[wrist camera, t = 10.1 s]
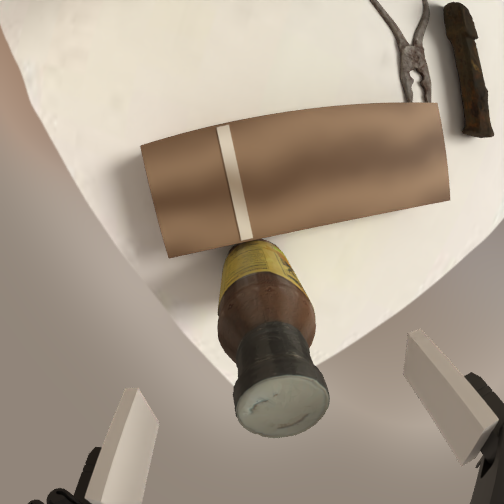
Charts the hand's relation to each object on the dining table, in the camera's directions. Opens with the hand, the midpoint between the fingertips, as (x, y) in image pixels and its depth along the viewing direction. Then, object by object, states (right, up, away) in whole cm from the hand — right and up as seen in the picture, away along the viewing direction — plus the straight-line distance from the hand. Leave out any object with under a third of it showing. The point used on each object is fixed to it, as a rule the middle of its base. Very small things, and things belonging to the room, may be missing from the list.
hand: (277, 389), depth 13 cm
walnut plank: (+4, +15, +15) cm, 21 cm away
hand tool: (+24, +30, +12) cm, 40 cm away
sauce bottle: (-1, +5, +18) cm, 18 cm away
